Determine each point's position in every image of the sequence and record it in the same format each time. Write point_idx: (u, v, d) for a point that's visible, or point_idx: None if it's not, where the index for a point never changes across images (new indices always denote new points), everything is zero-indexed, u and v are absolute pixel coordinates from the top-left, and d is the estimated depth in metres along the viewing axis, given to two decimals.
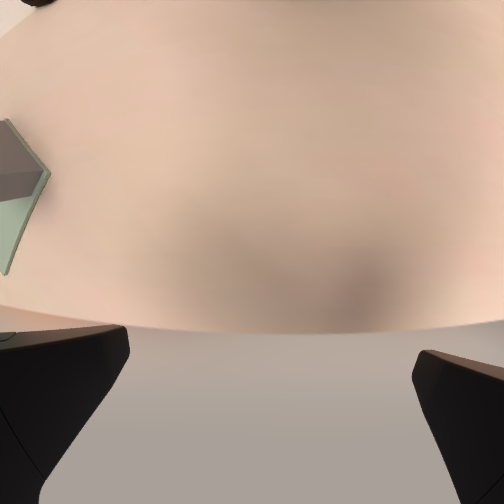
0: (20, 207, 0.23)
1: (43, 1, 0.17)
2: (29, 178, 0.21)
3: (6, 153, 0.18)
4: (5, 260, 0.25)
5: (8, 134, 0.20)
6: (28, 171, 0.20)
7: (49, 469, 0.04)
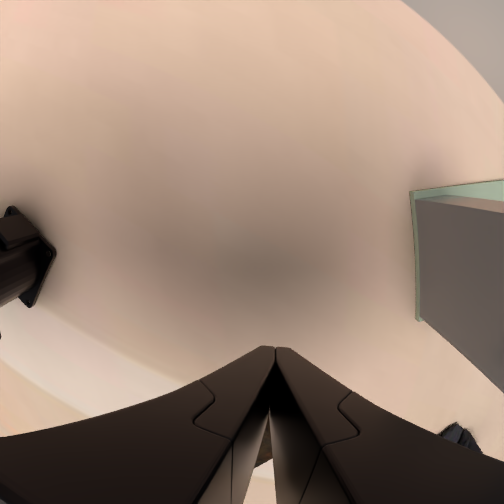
0: None
1: None
2: (434, 199, 0.17)
3: (442, 248, 0.16)
4: None
5: (426, 287, 0.19)
6: (430, 202, 0.17)
7: None
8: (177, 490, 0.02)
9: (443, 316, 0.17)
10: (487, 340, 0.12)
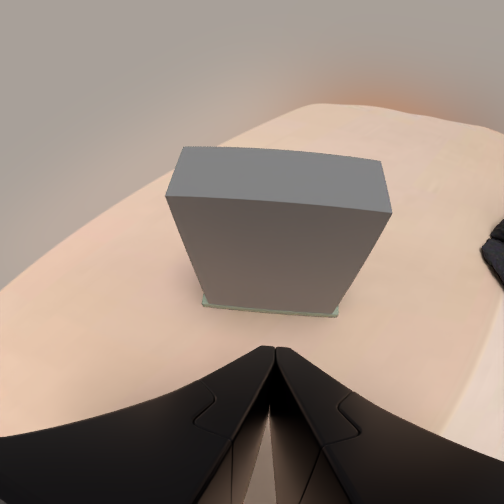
0: None
1: None
2: None
3: (245, 290, 0.19)
4: None
5: (295, 306, 0.21)
6: (205, 292, 0.20)
7: None
8: (177, 490, 0.02)
9: (320, 294, 0.19)
10: (324, 254, 0.14)
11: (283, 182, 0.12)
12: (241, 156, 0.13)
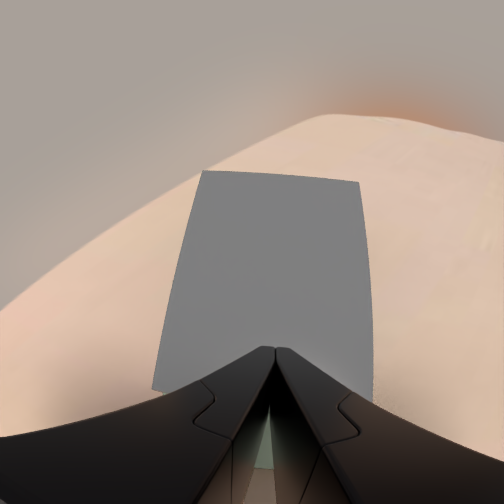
0: None
1: None
2: None
3: (229, 324, 0.13)
4: None
5: None
6: (161, 343, 0.12)
7: None
8: (177, 490, 0.02)
9: (339, 328, 0.12)
10: (324, 230, 0.15)
11: None
12: None
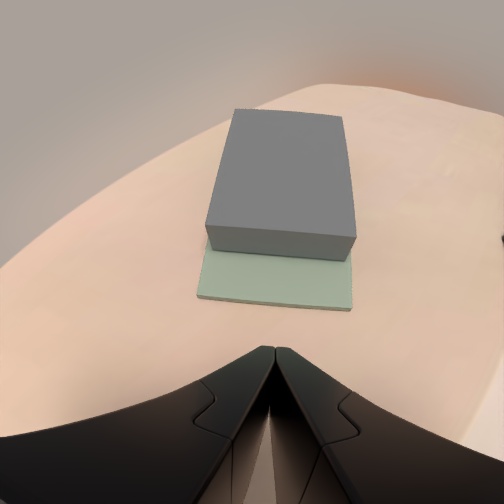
0: None
1: None
2: None
3: (258, 186, 0.19)
4: None
5: (310, 217, 0.18)
6: (212, 198, 0.19)
7: None
8: (177, 490, 0.02)
9: (330, 189, 0.19)
10: (318, 140, 0.22)
11: None
12: None
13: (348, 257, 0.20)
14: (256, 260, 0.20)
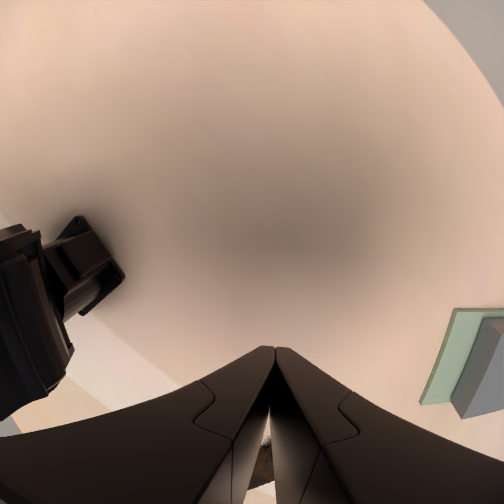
0: None
1: None
2: None
3: None
4: None
5: (482, 394, 0.18)
6: None
7: None
8: (177, 490, 0.02)
9: (493, 401, 0.19)
10: None
11: None
12: None
13: None
14: (467, 348, 0.21)
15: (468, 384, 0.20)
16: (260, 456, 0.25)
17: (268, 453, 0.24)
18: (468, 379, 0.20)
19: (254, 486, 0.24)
